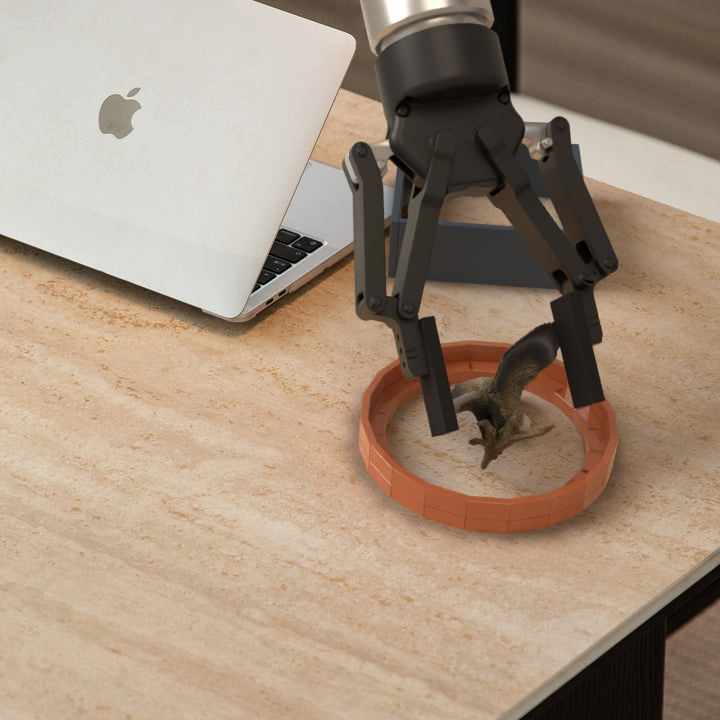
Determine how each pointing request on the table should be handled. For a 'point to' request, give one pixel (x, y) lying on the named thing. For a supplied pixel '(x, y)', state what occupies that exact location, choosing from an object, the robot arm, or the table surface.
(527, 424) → the eagle figurine
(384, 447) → the faceted orange ring
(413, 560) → the table surface
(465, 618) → the table surface
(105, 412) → the table surface
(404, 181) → the bin
